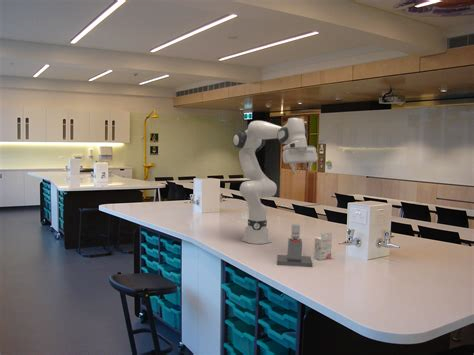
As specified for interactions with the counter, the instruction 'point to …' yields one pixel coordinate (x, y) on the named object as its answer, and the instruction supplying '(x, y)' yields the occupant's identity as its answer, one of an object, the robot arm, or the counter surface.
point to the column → (295, 232)
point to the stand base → (294, 255)
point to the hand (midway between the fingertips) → (302, 170)
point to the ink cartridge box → (323, 246)
